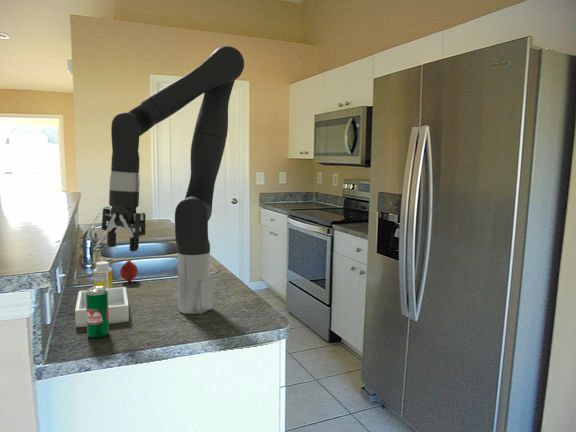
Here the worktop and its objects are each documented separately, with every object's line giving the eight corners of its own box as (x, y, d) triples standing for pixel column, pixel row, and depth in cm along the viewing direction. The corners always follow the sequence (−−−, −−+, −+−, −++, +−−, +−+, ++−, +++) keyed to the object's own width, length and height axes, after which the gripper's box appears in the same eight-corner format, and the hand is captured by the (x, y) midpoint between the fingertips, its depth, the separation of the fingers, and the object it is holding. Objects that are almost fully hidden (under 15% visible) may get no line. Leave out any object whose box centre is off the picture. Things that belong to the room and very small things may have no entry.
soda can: (83, 338, 110) (81, 290, 108) (95, 330, 114) (93, 285, 113) (102, 339, 109) (100, 292, 107) (113, 331, 114) (111, 286, 112)
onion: (132, 284, 155) (131, 262, 154) (117, 283, 156) (116, 261, 155) (140, 280, 161) (140, 258, 160) (126, 279, 162) (125, 257, 161)
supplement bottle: (108, 289, 149) (107, 259, 148) (115, 293, 145) (114, 262, 144) (91, 293, 145) (90, 262, 144) (98, 297, 141) (96, 265, 140)
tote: (126, 301, 138) (125, 287, 137) (128, 321, 121) (128, 305, 120) (79, 305, 133) (79, 291, 132) (75, 327, 116) (75, 310, 116)
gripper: (154, 191, 119) (151, 251, 121) (117, 187, 126) (115, 243, 128) (132, 191, 113) (129, 254, 114) (94, 186, 119) (93, 246, 121)
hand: (122, 248), depth 121 cm, fingers open, 8 cm apart
